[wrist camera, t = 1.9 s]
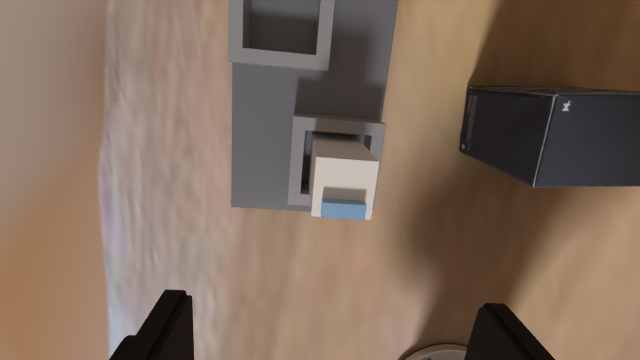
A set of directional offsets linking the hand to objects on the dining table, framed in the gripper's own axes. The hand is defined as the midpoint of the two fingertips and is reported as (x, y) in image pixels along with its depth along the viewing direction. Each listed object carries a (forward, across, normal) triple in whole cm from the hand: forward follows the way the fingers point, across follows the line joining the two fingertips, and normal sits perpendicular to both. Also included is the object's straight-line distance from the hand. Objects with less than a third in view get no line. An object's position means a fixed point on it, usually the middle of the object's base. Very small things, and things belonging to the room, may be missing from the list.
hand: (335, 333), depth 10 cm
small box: (+21, -19, -6) cm, 29 cm away
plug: (+20, -2, -1) cm, 20 cm away
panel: (+21, +1, -6) cm, 22 cm away
